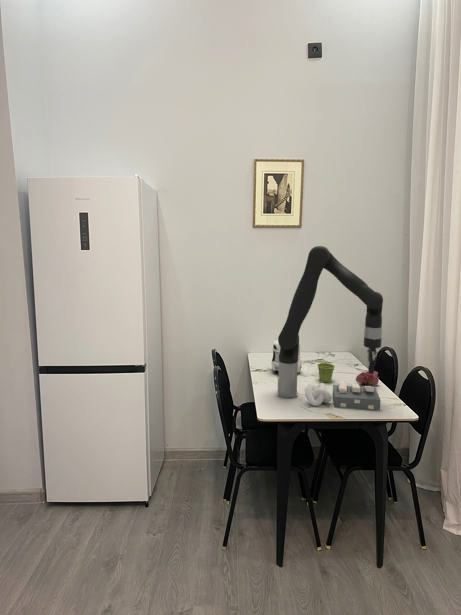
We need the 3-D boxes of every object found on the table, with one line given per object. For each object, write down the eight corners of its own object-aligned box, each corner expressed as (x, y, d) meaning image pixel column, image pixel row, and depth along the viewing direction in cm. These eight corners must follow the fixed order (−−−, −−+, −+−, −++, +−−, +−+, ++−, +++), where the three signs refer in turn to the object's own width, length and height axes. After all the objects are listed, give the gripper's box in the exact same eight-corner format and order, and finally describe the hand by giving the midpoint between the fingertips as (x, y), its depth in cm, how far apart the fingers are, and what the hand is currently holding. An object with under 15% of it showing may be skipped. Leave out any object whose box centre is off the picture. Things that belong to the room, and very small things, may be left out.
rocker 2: (352, 391, 186) (352, 388, 186) (351, 386, 193) (351, 383, 192) (360, 392, 185) (360, 388, 185) (358, 387, 192) (358, 383, 192)
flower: (357, 388, 217) (362, 371, 219) (375, 393, 211) (381, 376, 214) (352, 381, 208) (358, 364, 211) (371, 387, 202) (377, 369, 205)
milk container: (300, 367, 241) (300, 338, 238) (302, 377, 224) (303, 346, 221) (271, 367, 243) (271, 338, 240) (271, 376, 226) (271, 345, 223)
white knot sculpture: (313, 410, 181) (314, 391, 180) (299, 400, 192) (299, 382, 190) (334, 406, 185) (334, 387, 184) (318, 397, 196) (319, 379, 195)
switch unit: (334, 407, 184) (334, 391, 183) (332, 394, 200) (333, 380, 198) (380, 410, 180) (380, 395, 179) (374, 397, 196) (375, 382, 194)
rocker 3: (366, 391, 184) (366, 387, 185) (364, 389, 191) (364, 385, 191) (374, 391, 184) (374, 387, 184) (371, 389, 191) (371, 386, 191)
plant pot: (337, 380, 219) (338, 365, 217) (328, 385, 212) (329, 369, 211) (322, 376, 225) (322, 362, 224) (313, 381, 218) (313, 365, 217)
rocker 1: (339, 392, 188) (339, 389, 187) (338, 383, 194) (338, 380, 193) (346, 393, 187) (346, 390, 186) (345, 384, 193) (346, 381, 192)
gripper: (362, 332, 188) (360, 368, 191) (365, 339, 175) (364, 377, 178) (379, 333, 187) (377, 369, 189) (384, 340, 174) (381, 378, 177)
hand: (370, 373), depth 184 cm, fingers closed
